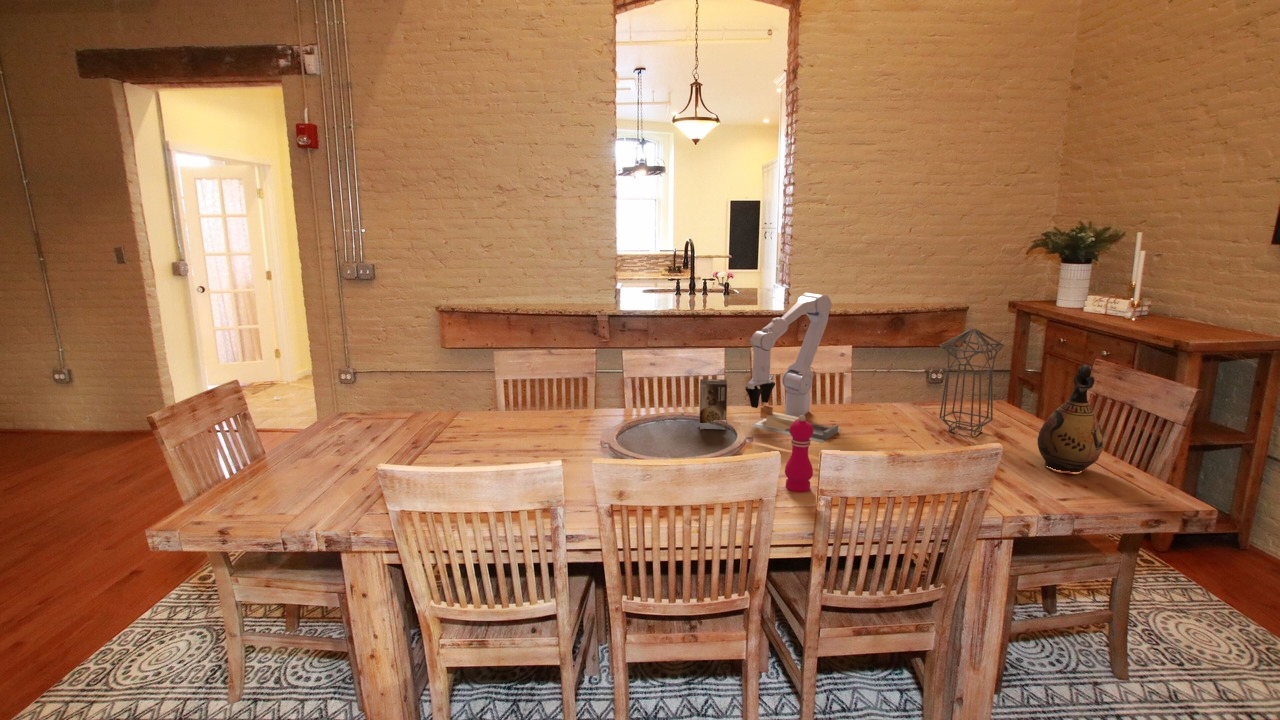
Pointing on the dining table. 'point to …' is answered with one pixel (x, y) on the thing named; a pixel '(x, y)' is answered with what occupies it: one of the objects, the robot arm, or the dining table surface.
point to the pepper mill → (799, 456)
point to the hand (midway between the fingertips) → (759, 404)
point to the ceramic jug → (1072, 430)
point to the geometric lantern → (963, 337)
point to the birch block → (777, 418)
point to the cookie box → (713, 400)
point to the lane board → (819, 431)
